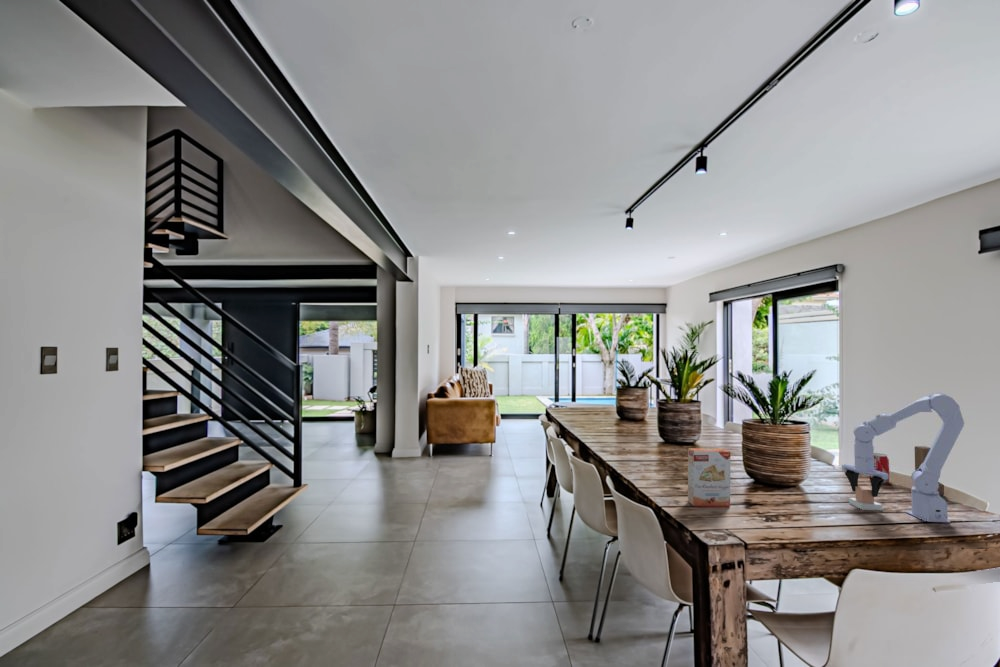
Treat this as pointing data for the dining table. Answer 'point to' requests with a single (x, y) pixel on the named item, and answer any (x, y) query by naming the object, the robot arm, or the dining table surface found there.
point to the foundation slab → (865, 505)
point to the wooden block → (919, 459)
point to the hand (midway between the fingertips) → (864, 493)
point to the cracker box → (709, 477)
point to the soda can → (881, 464)
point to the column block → (864, 494)
